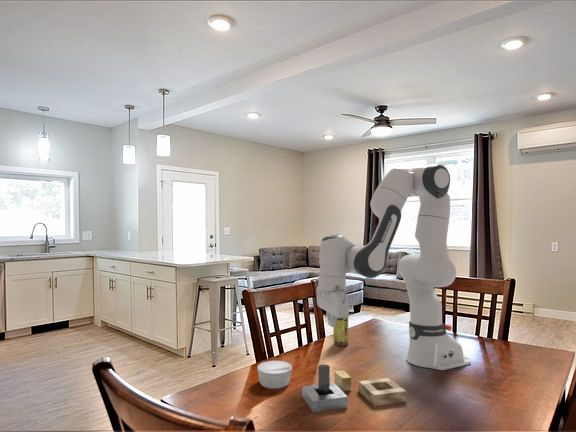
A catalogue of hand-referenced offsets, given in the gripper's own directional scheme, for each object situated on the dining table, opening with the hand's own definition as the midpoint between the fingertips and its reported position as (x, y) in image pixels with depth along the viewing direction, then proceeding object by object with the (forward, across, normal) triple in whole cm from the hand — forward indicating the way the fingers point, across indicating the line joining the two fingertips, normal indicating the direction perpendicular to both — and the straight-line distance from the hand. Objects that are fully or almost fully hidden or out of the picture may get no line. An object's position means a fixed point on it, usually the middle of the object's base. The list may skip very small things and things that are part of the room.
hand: (331, 326), depth 129 cm
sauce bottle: (+17, +33, -17) cm, 41 cm away
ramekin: (+18, +1, +19) cm, 26 cm away
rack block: (+17, -17, -9) cm, 26 cm away
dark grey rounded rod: (+17, -16, +8) cm, 25 cm away
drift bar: (+17, -8, -1) cm, 19 cm away
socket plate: (+17, -16, +8) cm, 25 cm away
